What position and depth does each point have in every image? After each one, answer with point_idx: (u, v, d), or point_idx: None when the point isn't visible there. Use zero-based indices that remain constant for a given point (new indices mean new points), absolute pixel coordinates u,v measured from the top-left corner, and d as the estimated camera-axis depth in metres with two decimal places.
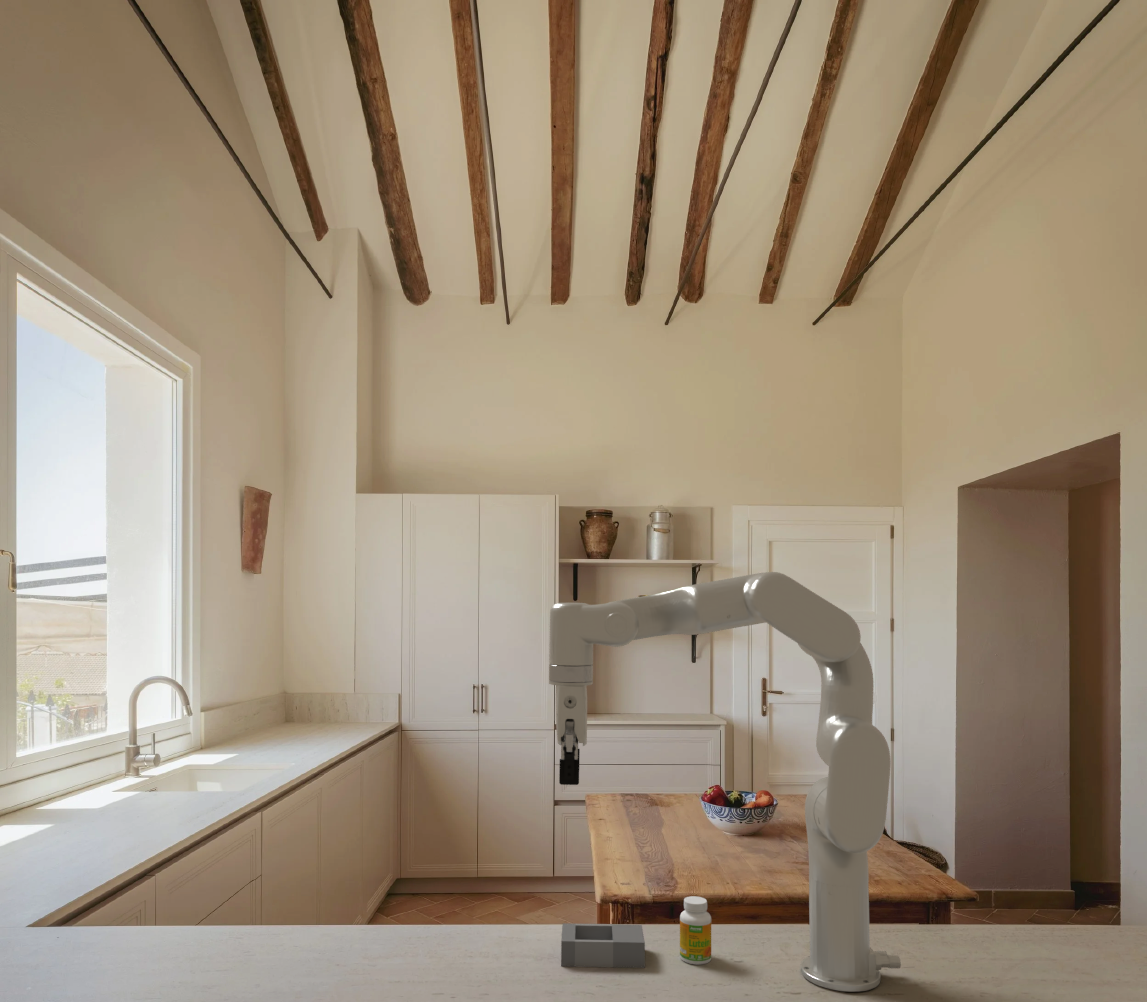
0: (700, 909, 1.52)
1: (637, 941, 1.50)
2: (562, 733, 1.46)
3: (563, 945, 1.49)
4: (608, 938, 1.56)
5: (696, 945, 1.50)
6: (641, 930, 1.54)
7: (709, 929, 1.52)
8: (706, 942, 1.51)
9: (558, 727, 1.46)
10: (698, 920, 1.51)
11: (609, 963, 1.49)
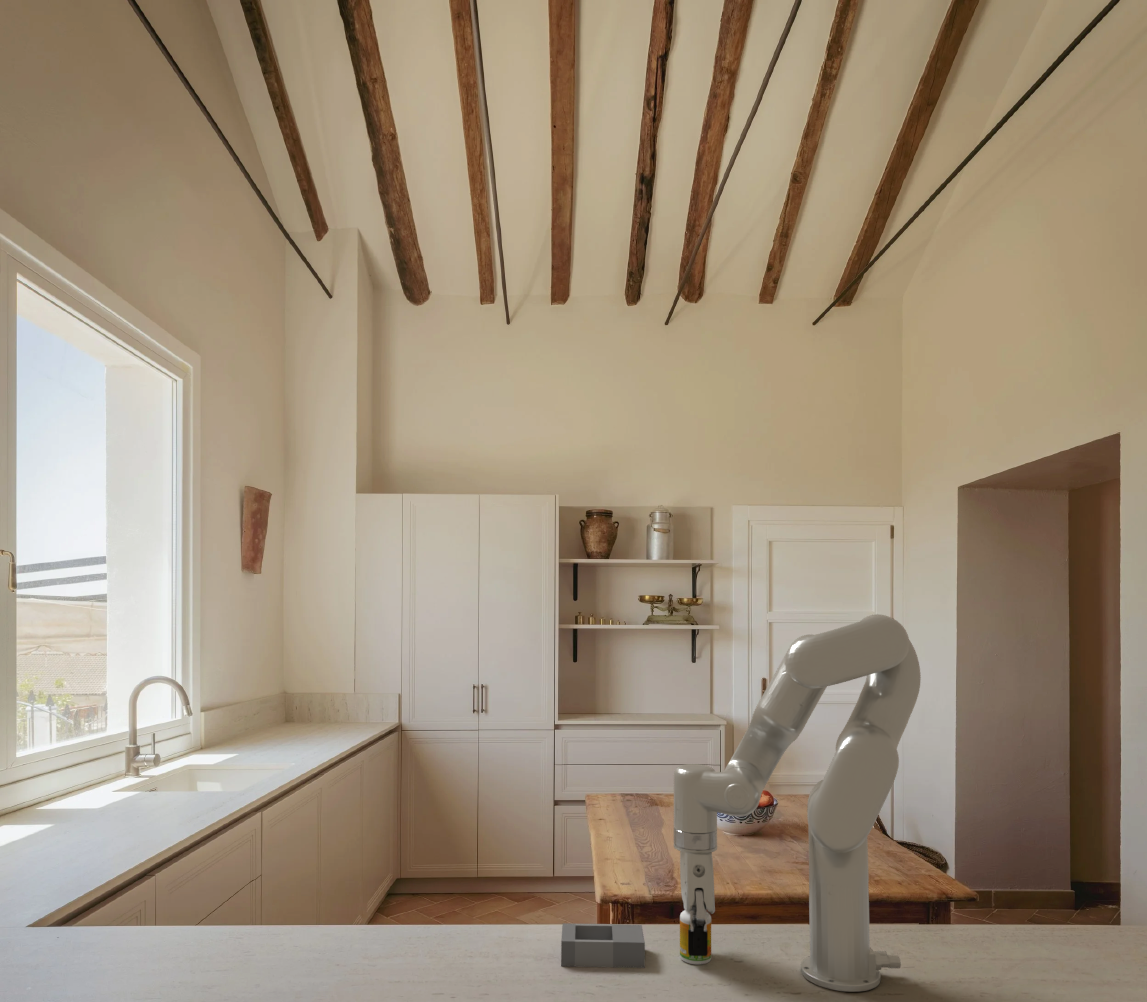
0: None
1: (637, 941, 1.50)
2: (692, 902, 1.49)
3: (563, 945, 1.49)
4: (608, 938, 1.56)
5: None
6: (641, 930, 1.54)
7: (709, 929, 1.52)
8: None
9: (687, 896, 1.49)
10: None
11: (609, 963, 1.49)
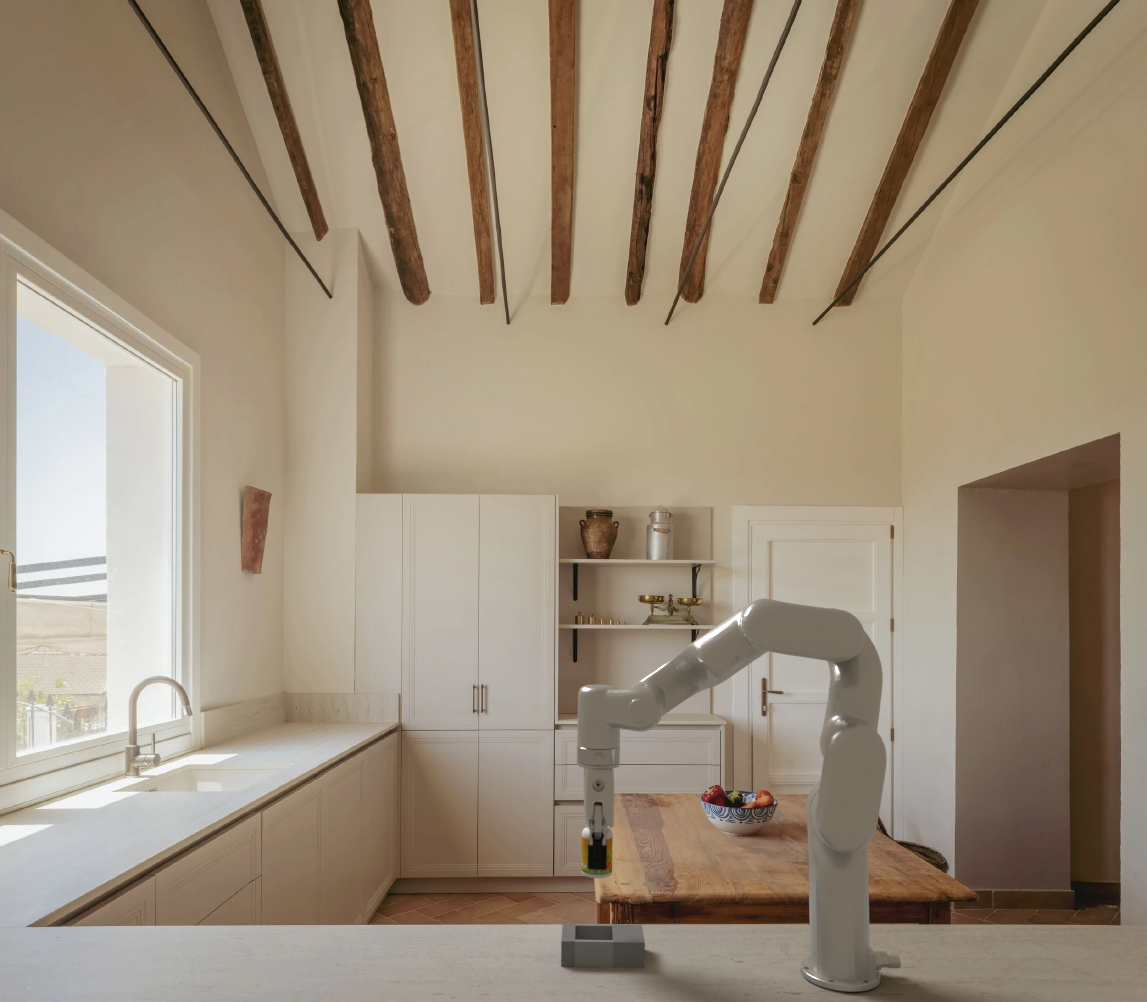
0: None
1: (637, 941, 1.50)
2: (590, 816, 1.50)
3: (563, 945, 1.49)
4: (608, 938, 1.56)
5: None
6: (641, 930, 1.54)
7: (609, 844, 1.53)
8: None
9: (587, 810, 1.51)
10: None
11: (609, 963, 1.49)
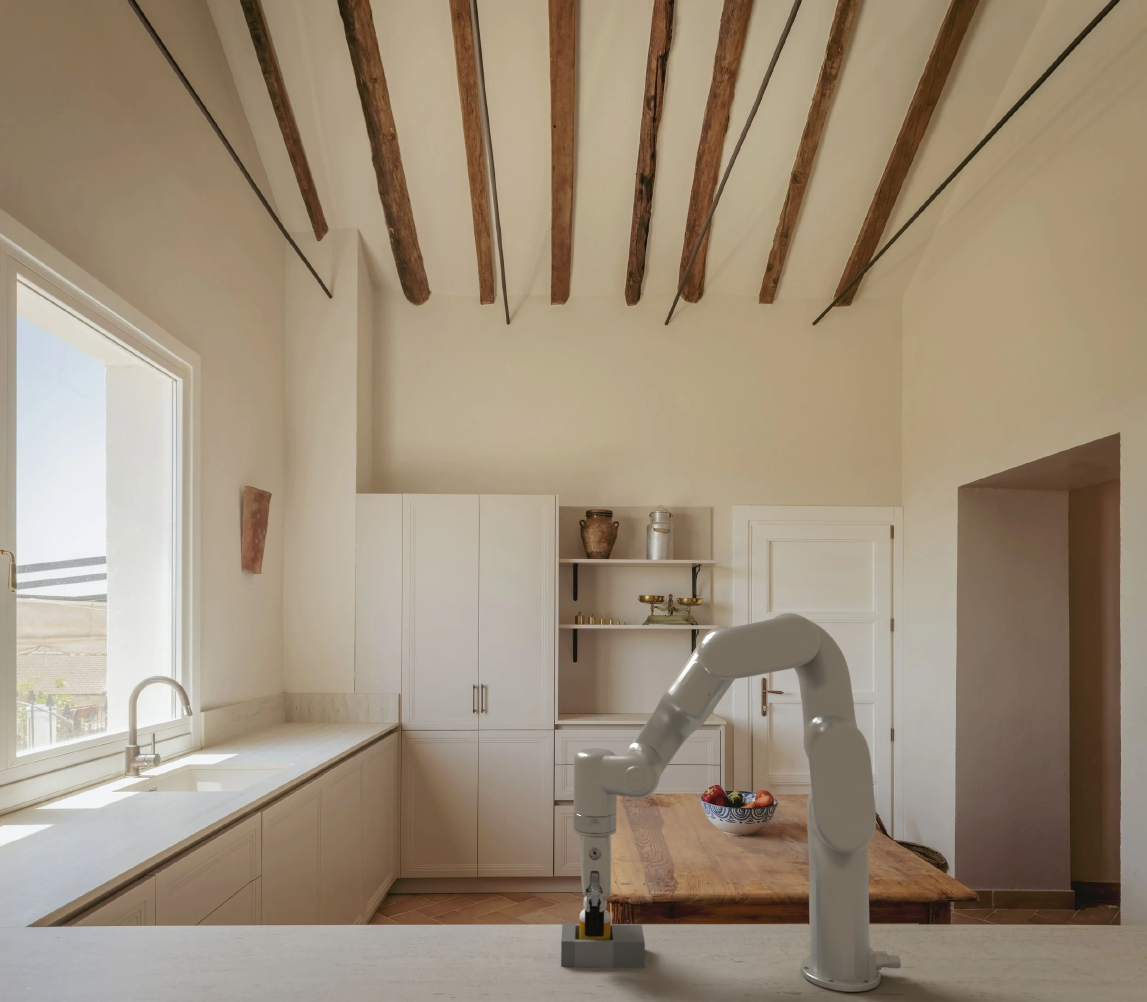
0: None
1: (637, 941, 1.50)
2: (587, 885, 1.49)
3: (563, 945, 1.49)
4: None
5: None
6: (641, 930, 1.54)
7: (607, 927, 1.52)
8: None
9: (583, 879, 1.50)
10: None
11: (609, 963, 1.49)
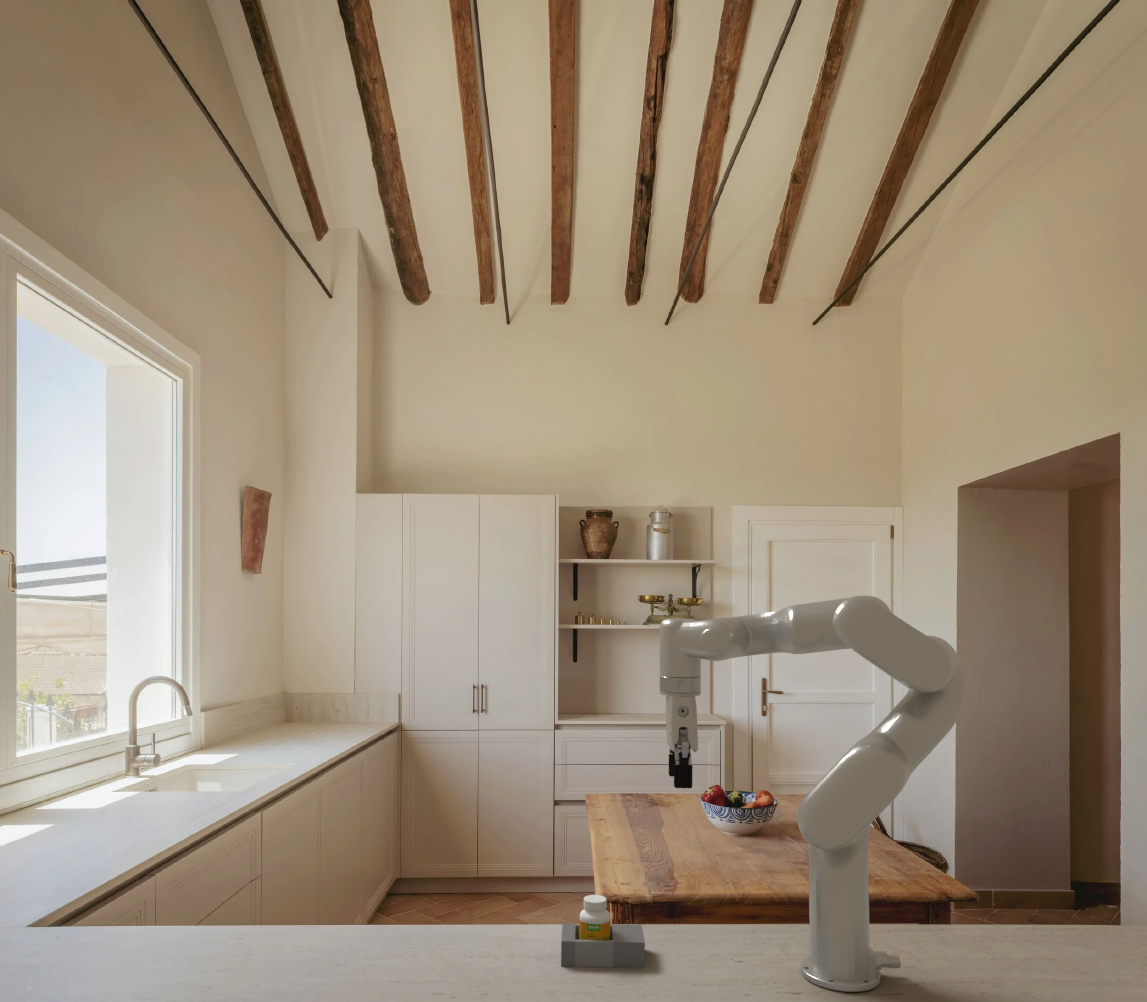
0: (598, 907, 1.52)
1: (637, 941, 1.50)
2: (676, 740, 1.57)
3: (563, 945, 1.49)
4: None
5: None
6: (641, 930, 1.54)
7: (607, 927, 1.52)
8: None
9: (672, 735, 1.58)
10: (596, 918, 1.51)
11: (609, 963, 1.49)
